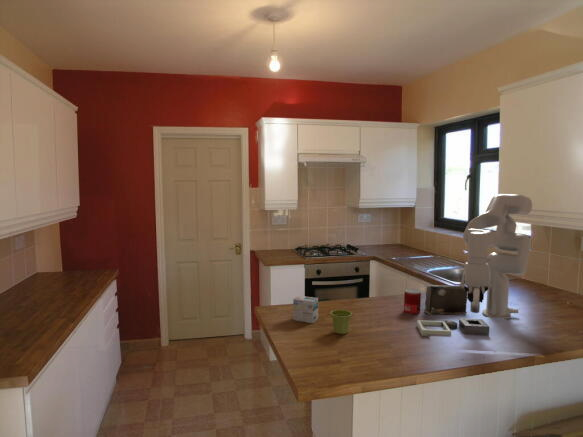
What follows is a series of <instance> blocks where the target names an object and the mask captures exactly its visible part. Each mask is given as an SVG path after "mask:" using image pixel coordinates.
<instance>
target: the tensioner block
mask: <svg viewBox="0 0 583 437" xmlns="http://www.w3.org/2000/svg"><path fill="white" fill-rule="evenodd" d="M458 329H459V330H460V331H461V333H462V334H464V336H467V335H468V336H488V337H489V336H490V326H489V325H488V324H487V322H485V320H484V319H482V318H460V317H459V318H458Z"/></svg>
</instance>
